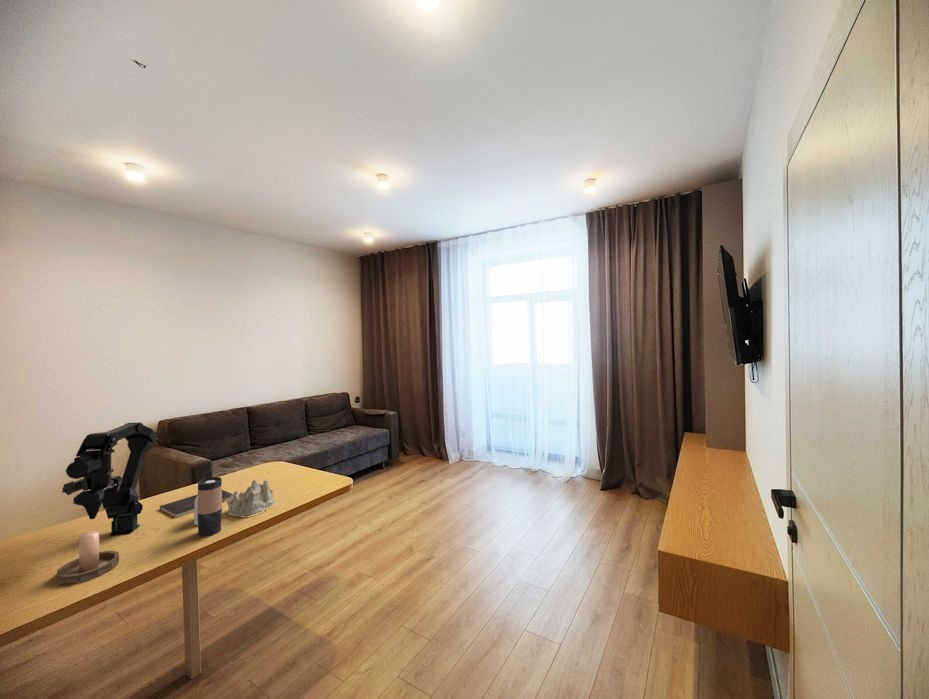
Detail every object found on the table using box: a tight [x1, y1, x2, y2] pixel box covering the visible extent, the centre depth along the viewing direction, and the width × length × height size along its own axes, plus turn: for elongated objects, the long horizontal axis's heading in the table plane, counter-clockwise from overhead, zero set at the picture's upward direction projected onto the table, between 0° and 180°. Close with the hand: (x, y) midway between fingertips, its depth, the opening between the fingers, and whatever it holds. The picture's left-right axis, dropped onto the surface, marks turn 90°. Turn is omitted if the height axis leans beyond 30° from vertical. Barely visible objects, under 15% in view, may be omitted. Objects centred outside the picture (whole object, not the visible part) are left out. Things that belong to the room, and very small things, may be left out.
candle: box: [78, 530, 100, 573], centre depth 112 cm, size 4×4×11 cm
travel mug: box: [197, 476, 223, 538], centre depth 136 cm, size 8×8×20 cm
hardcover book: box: [159, 489, 233, 518], centre depth 161 cm, size 16×23×2 cm
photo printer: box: [193, 496, 198, 526], centre depth 146 cm, size 10×4×12 cm, turn 12°
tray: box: [55, 550, 120, 585], centre depth 112 cm, size 14×14×2 cm
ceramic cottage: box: [226, 479, 276, 518], centre depth 156 cm, size 16×16×15 cm
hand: (99, 513), depth 123 cm, fingers open, 9 cm apart
